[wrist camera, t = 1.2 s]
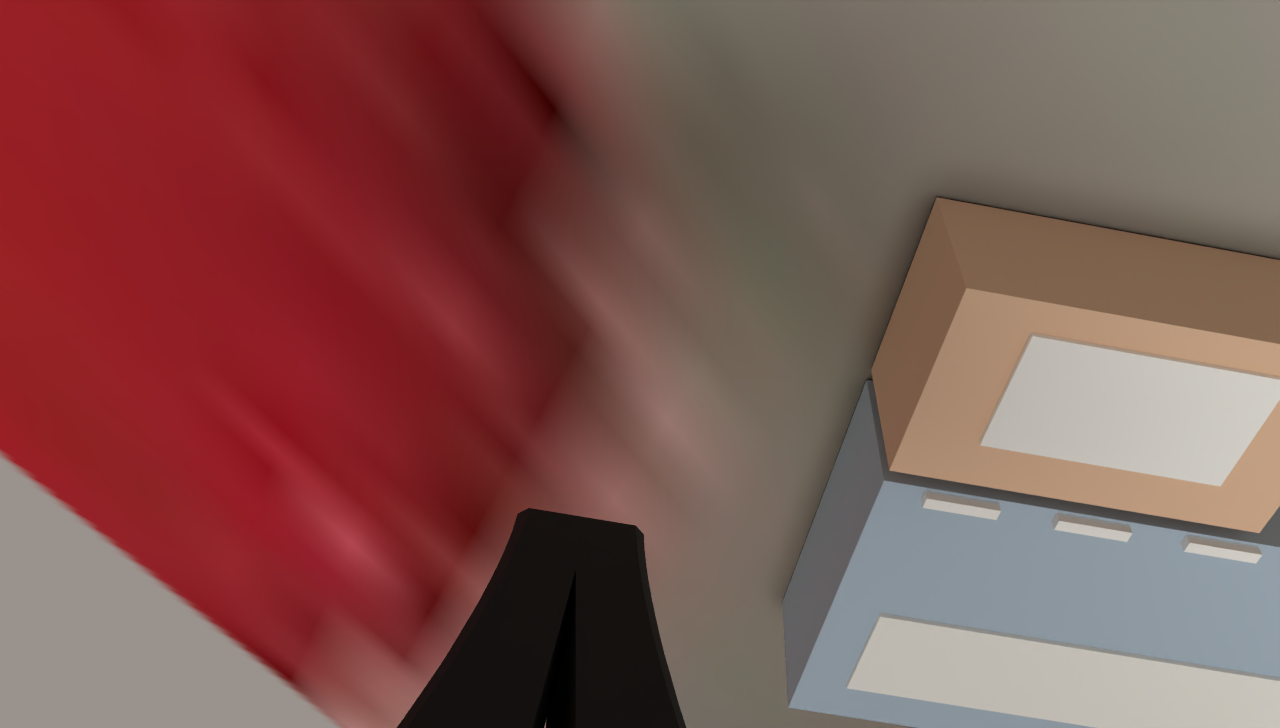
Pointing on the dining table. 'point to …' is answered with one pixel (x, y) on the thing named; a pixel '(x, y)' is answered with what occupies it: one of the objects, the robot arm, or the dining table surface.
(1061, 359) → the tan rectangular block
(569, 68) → the dining table surface
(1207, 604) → the pad
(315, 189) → the dining table surface
